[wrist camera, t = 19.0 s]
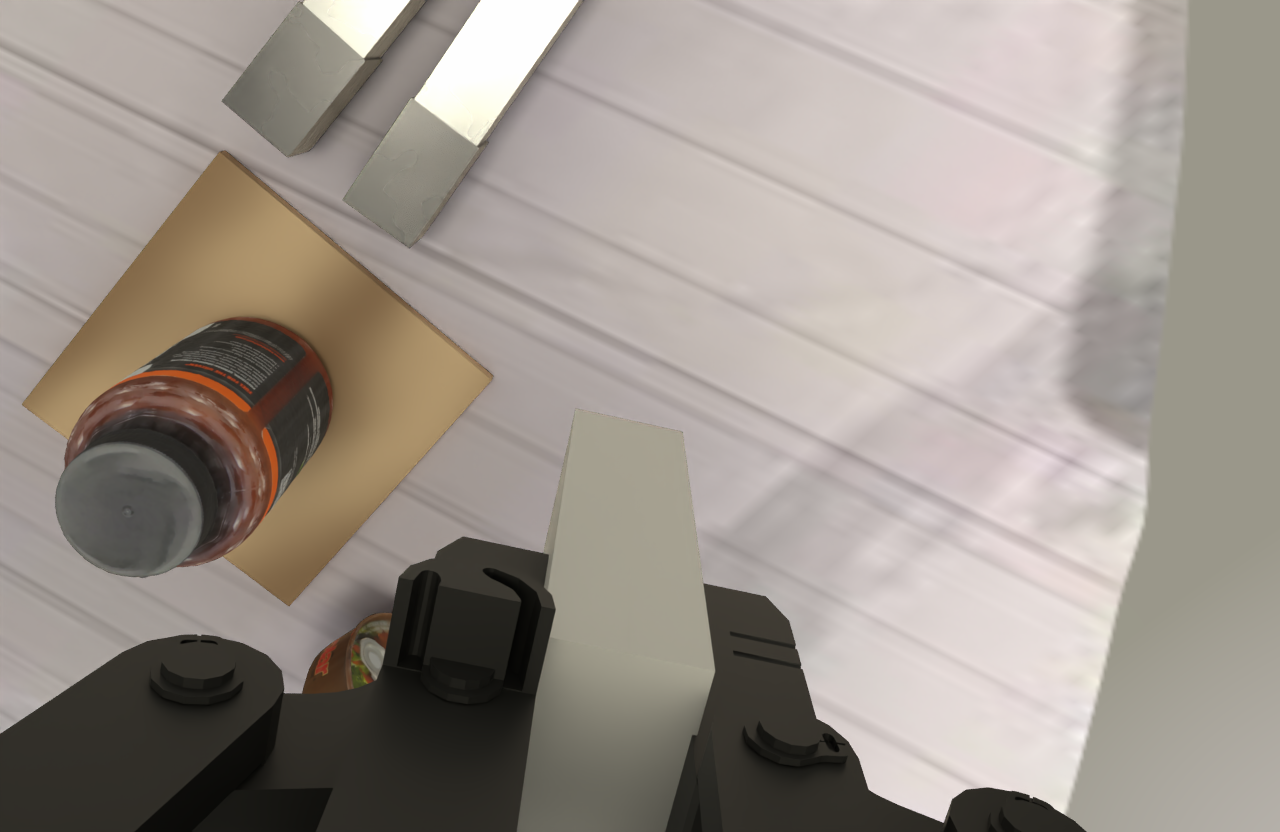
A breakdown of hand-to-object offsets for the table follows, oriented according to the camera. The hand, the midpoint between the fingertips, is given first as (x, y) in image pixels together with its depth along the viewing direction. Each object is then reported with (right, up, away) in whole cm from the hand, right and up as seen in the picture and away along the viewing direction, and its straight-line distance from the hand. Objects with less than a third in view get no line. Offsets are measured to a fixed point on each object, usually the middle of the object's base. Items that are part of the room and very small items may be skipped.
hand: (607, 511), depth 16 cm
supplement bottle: (-13, +2, +26) cm, 30 cm away
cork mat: (-13, +2, +27) cm, 30 cm away
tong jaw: (-3, +15, +23) cm, 27 cm away
